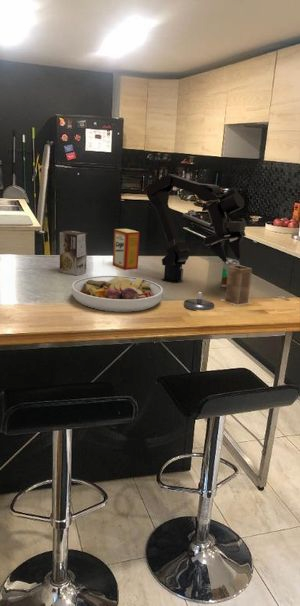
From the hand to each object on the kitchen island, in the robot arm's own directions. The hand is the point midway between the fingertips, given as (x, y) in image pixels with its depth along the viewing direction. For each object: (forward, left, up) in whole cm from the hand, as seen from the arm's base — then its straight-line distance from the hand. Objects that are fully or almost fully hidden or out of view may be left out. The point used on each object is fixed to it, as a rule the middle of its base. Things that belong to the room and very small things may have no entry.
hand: (232, 260), depth 176 cm
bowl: (-32, -28, -14) cm, 44 cm away
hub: (-6, -20, -13) cm, 25 cm away
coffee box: (-63, -3, -13) cm, 64 cm away
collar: (+4, -8, -12) cm, 16 cm away
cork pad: (+4, -8, -13) cm, 16 cm away
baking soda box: (-50, +19, -13) cm, 55 cm away
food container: (-3, +13, -13) cm, 19 cm away
